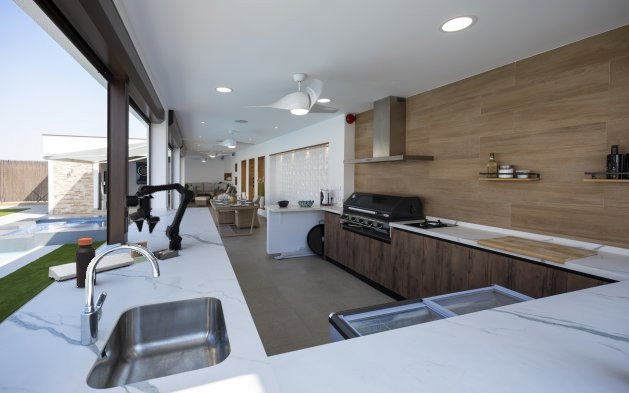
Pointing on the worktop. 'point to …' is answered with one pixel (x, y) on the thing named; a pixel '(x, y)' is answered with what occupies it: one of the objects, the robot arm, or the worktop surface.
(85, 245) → the bottle
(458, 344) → the worktop surface
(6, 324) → the worktop surface
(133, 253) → the walnut sheet
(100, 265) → the decorative molding
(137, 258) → the sage stand
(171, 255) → the offcut rack
